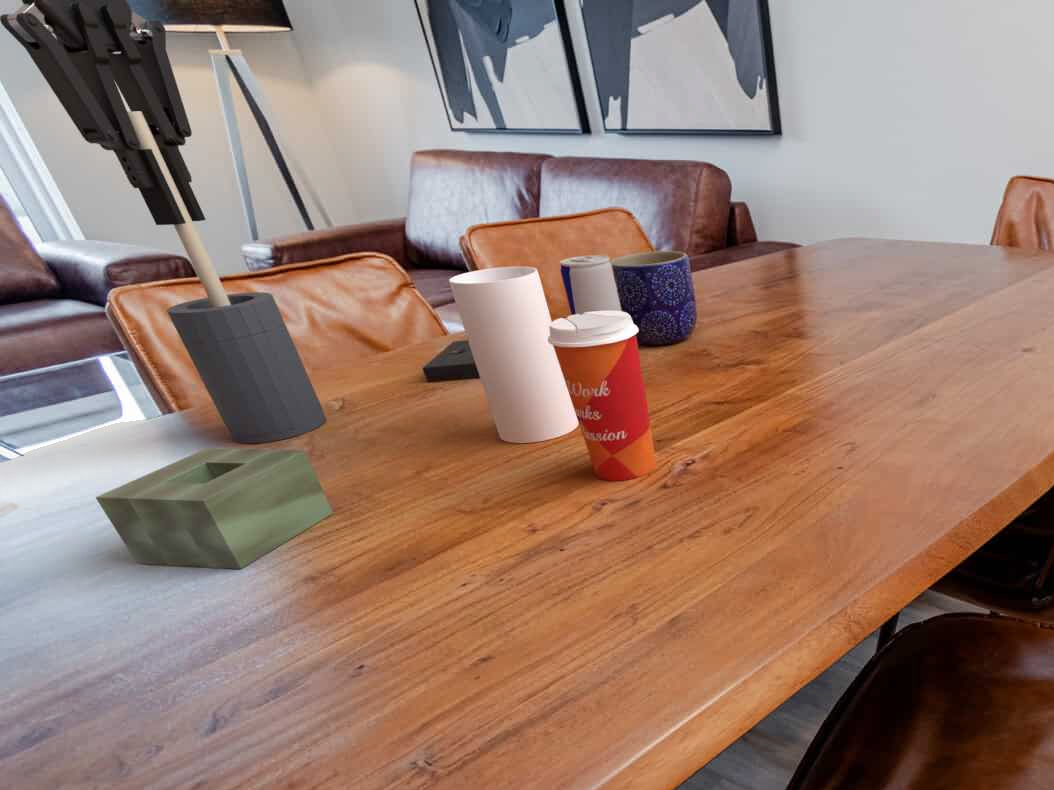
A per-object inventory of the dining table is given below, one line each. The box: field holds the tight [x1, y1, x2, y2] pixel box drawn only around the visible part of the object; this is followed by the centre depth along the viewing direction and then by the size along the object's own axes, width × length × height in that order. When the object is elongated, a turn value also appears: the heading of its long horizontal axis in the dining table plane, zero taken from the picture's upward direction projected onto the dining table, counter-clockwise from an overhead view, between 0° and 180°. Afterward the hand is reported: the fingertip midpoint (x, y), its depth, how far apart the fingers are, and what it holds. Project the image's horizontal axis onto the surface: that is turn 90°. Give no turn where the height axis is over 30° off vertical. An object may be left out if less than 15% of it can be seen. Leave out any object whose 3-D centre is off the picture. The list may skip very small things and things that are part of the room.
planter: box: [609, 250, 698, 347], centre depth 116 cm, size 11×11×11 cm
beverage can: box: [559, 254, 622, 315], centre depth 97 cm, size 6×6×15 cm
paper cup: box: [548, 311, 657, 482], centre depth 75 cm, size 8×8×14 cm
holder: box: [95, 448, 334, 570], centre depth 69 cm, size 10×10×6 cm
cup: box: [448, 266, 579, 444], centre depth 85 cm, size 8×8×16 cm
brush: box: [127, 110, 231, 308], centre depth 83 cm, size 3×3×23 cm
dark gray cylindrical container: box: [166, 291, 327, 445], centre depth 90 cm, size 9×9×14 cm
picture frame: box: [422, 339, 480, 383], centre depth 113 cm, size 13×2×18 cm
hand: (181, 222), depth 82 cm, fingers closed on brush, 2 cm apart
